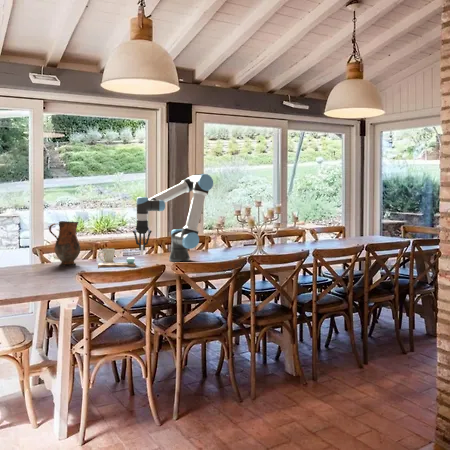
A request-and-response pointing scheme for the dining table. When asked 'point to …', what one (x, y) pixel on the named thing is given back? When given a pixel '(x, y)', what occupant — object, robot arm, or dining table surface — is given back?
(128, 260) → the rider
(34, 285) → the dining table surface
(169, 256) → the robot arm
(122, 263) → the wooden flat board
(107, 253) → the mug
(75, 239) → the pitcher
